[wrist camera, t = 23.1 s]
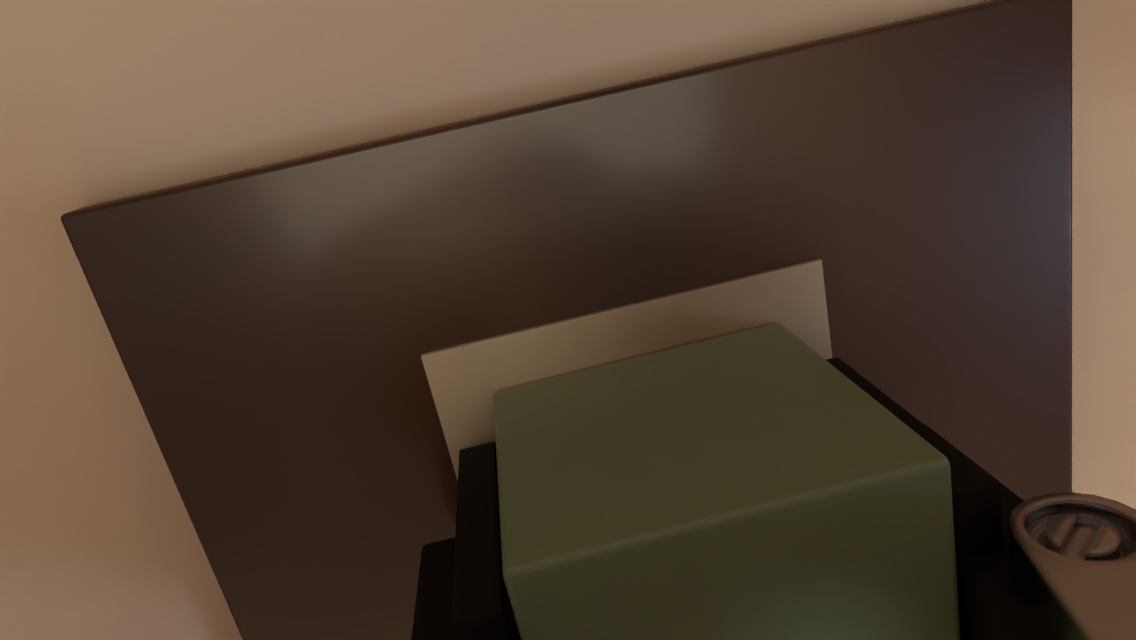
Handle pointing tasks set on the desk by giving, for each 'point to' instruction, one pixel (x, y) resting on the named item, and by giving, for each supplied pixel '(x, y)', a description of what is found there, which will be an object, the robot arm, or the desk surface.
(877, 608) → the sage green block
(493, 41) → the desk surface
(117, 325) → the word board
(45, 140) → the desk surface
